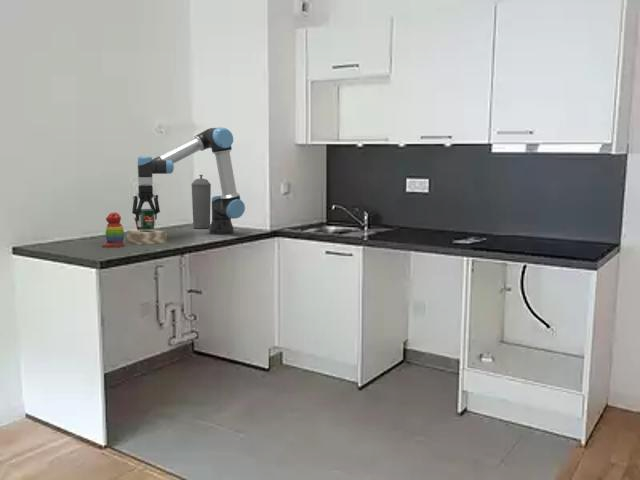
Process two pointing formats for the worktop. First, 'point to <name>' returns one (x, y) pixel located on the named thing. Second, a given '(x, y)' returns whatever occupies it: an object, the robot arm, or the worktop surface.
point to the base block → (146, 236)
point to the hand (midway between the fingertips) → (146, 226)
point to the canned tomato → (147, 219)
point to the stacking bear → (114, 231)
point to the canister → (201, 203)
